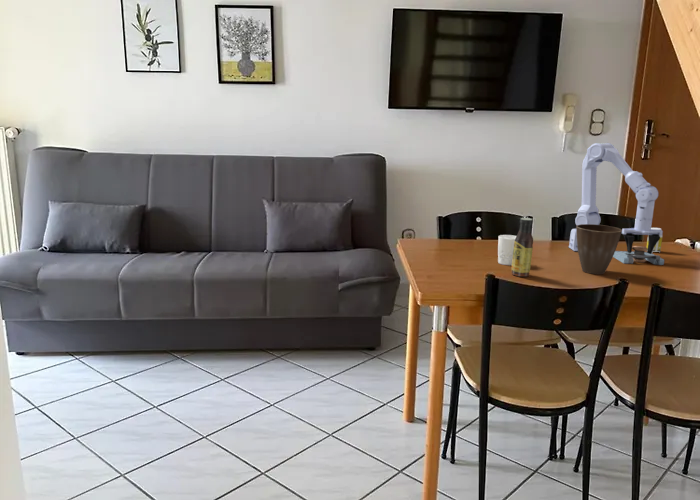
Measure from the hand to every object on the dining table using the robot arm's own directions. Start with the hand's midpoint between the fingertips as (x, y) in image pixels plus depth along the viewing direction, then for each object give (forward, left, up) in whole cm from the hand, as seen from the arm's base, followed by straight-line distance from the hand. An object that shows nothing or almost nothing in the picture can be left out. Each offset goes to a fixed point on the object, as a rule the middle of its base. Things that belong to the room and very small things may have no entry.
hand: (639, 252), depth 236 cm
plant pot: (-24, -20, -3) cm, 31 cm away
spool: (0, 0, -3) cm, 3 cm away
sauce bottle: (-52, -29, -3) cm, 60 cm away
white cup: (-53, -12, -3) cm, 54 cm away
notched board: (0, +2, -3) cm, 4 cm away
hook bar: (0, -4, -3) cm, 5 cm away
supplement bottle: (+14, +19, -3) cm, 24 cm away
